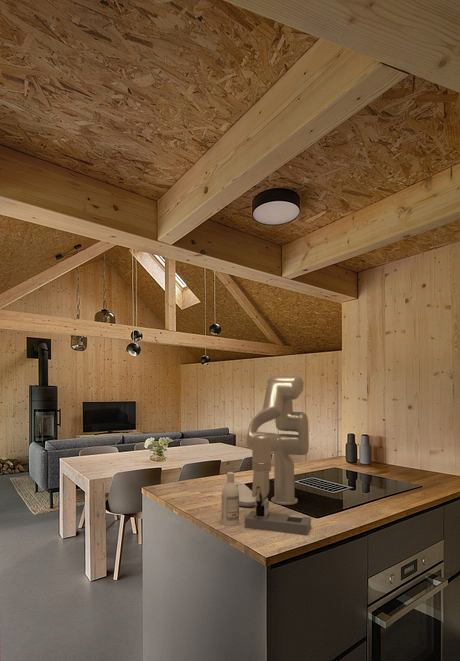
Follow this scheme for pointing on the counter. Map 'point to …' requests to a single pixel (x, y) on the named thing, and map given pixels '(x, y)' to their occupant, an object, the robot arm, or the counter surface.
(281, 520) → the socket block
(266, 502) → the plug
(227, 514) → the bath foam
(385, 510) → the counter surface
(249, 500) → the spoon rest
